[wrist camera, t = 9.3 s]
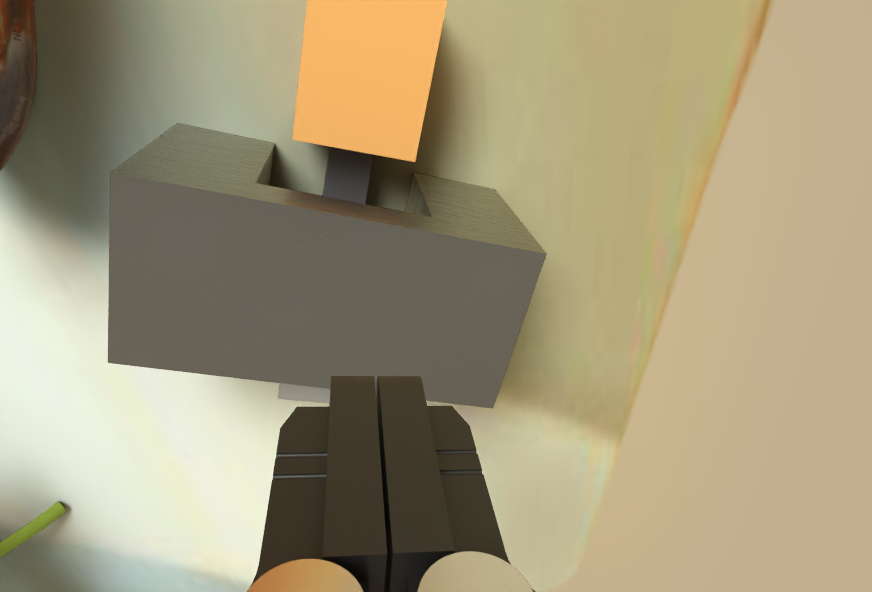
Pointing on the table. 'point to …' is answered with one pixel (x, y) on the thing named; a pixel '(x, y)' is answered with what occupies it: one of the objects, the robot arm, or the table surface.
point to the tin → (15, 72)
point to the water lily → (31, 528)
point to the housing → (310, 274)
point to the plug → (363, 94)
